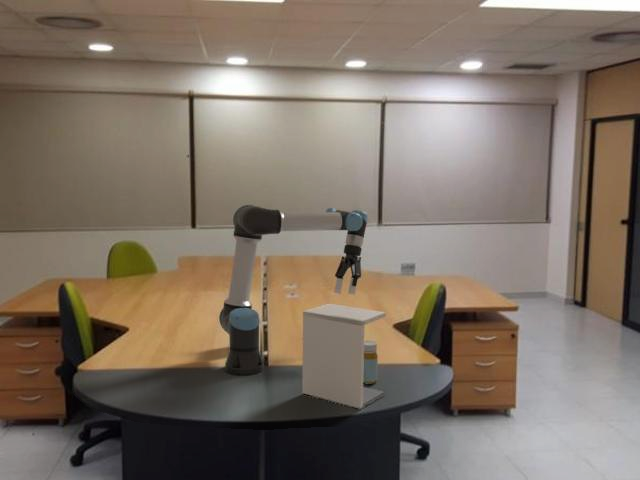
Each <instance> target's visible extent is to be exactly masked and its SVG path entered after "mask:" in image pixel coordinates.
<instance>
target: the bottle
mask: <svg viewBox="0 0 640 480" xmlns="http://www.w3.org/2000/svg"><path fill="white" fill-rule="evenodd" d="M377 345H378V344H377V342H376V341H372V340H364V377H363V383H368V384H371V383H375V382H376V383H377V382H378V360H379V359H378V358H379V357H378V353H377V349H378V347H377ZM376 383H375V384H376Z"/></svg>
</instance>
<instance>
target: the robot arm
mask: <svg viewBox="0 0 640 480" xmlns="http://www.w3.org/2000/svg"><path fill="white" fill-rule="evenodd" d="M368 215H369V214H368V213H367V212H366V211H362V210H356V209H355V210H354V209H353V210H351V211H347V210H346V211H345V210H341V209H340V210H339V209H337V208H332V207H329V208H327V209H325V211H318V212H317V211H311V212H310V211H309V212H307V211H283V212H282V211H281V210H280V209H271V208H264V207H260V206H256V205H254V204H253V205H252V204H245V205H241V206H240V207H238V208H237V209H236V210H235V211H234V213H233V217H232V221H233V226H234V229H233V237H234V239H235V240H236V242H235V250H234V257H233V262H232V263H233V264H232V271H231V278H230V286H229V291H228V297H227V298H226V299H225V300H224V302H223V307H222V309H221V310H220V313H219V317H218V319H219V323H220V326H221V329H223V330H224V332H226V333H227V335H229V350H228V355H227V358H226V361H225V366H224V367H225V368H224V370H225V372H227V373H228V374H231V375H236V374H240V375H239V376H244V375H243V374H250V375H255V374H259V373H261V372H262V371H263V370H264V360H263V358H262V354H261V351H260V315H259V312H258V311H256V310H255V309H253V303H252V302H251V301H250V296H251V289H252V282H253V275H254V267H255V260H256V255H257V247H258V243H259V242H261V241H262V239H263V236H266V235H279V234H281V232H299V231H300V232H303V231H304V232H309V231H310V232H312V231H313V232H315V231H320V232H321V231H347V233H346V239H345V241H344V242H345V245H344V247H343V253H344V254H345V256H341V260H340V263H339V265H338V267H337V269H336V272H335V273H334V277H336V281H335V286H334V293H336V294H342V293H341V292H342V286H343V282H344V276H345V275H346V273H347V271H348V269H350V272H351V277H350V282H349V287H348V292H347V294H351V295H355V294H356V289H357V284H358V280H359V278H361V277H362V265H361V262H362V261H361V260H362V257H361V253H362V250H363V249H362V247H363V243H364V238H365V234H366V228H367V224H368V217H369V216H368ZM258 372H259V373H258Z"/></svg>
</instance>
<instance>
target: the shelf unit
mask: <svg viewBox="0 0 640 480" xmlns="http://www.w3.org/2000/svg"><path fill="white" fill-rule="evenodd" d="M386 317H387V312H385V311H378V310H373V309H367V308H360V307H354V306H353V307H352V306H347V305H341V304H335V303H326V304H323V305H320V306H316V307H312V308H310V309H306V310H303V311H302V389H301V390H302V392H301V393H305V394H309V395H314V396H318V397H323V398H326V399H330V400H333V401H337V402H341V403H345V404H349V405H353V406H357V407H360V408H361V407H362V406H364V405H366V404H367V403H369V402H371V401H373V400H374V399H377V398H378V397H380V396H382V395H384V396H385V391H382V390H379V389H375V388H370V387H366V386H364V384H363V377H364V341H365V325H368V324H370V323H373V322H375V321H378V320H381V319H383V318H386Z"/></svg>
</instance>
